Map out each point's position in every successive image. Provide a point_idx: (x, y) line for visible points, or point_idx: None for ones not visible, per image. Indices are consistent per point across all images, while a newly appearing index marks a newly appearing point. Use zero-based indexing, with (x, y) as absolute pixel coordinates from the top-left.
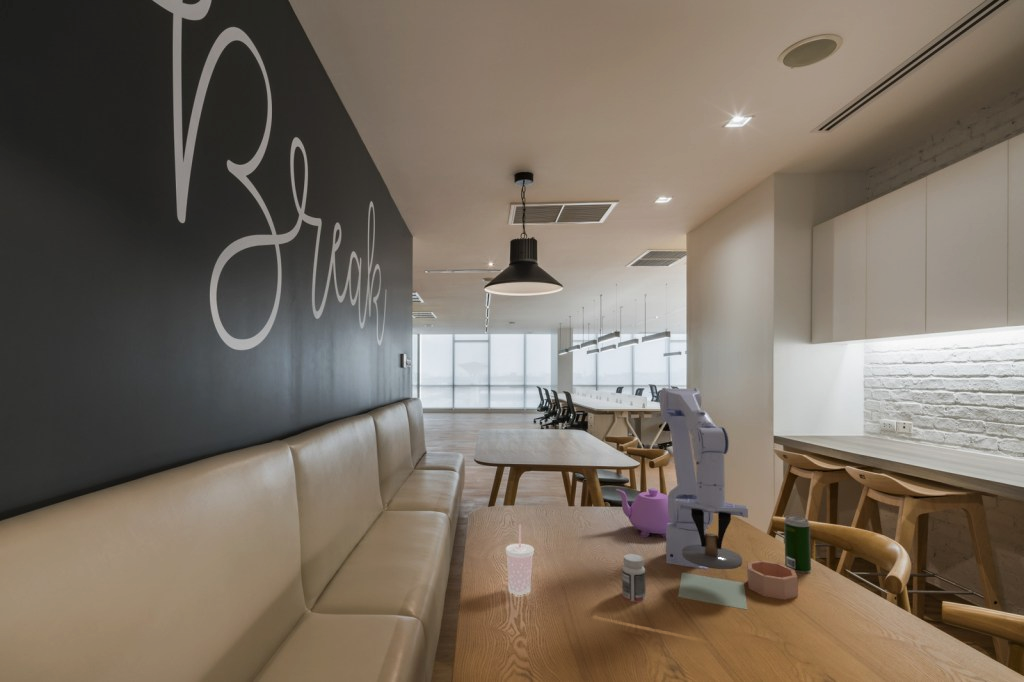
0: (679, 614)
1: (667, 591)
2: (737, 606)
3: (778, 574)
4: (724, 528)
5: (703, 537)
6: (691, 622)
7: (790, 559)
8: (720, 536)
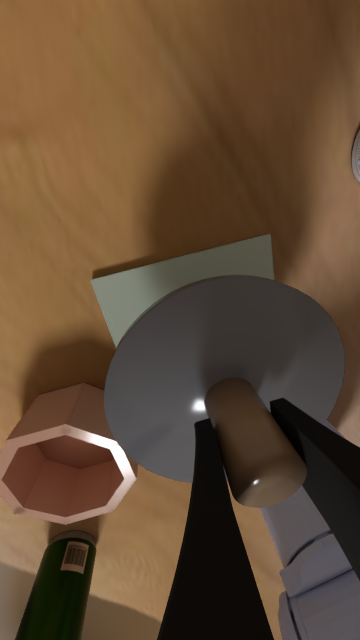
0: (246, 128)
1: (299, 263)
2: (116, 280)
3: (72, 487)
4: (191, 576)
5: (307, 432)
6: (204, 92)
7: (73, 565)
8: (210, 482)
